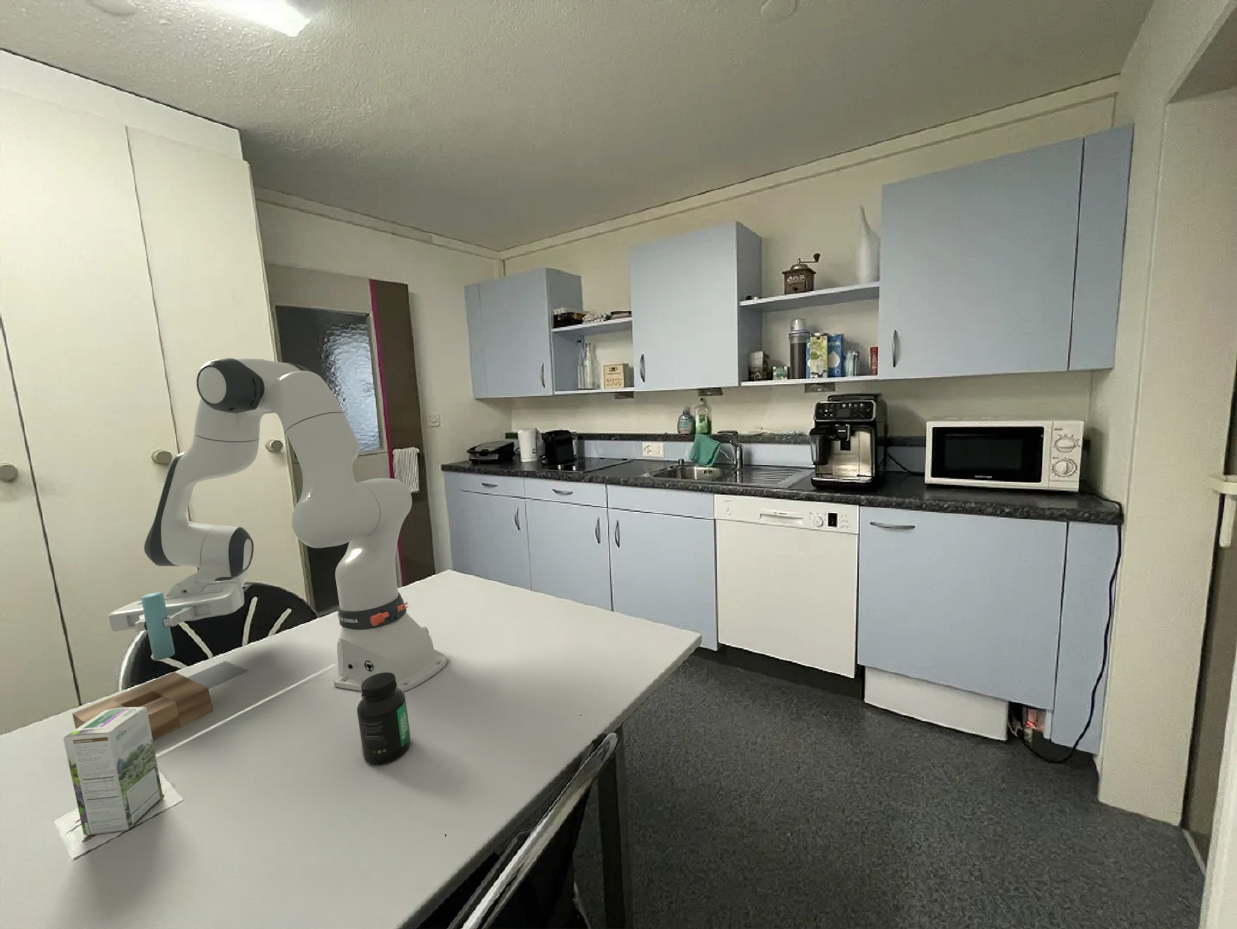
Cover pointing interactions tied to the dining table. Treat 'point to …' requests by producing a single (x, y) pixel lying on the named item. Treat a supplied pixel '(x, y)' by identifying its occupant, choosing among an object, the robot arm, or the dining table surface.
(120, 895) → the dining table surface
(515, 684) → the dining table surface
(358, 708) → the supplement bottle
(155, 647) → the peg
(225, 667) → the mat
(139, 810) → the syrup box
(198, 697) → the hole block
